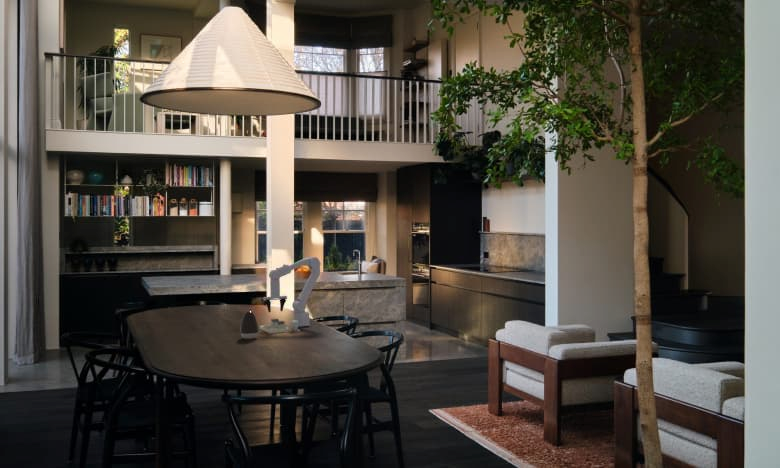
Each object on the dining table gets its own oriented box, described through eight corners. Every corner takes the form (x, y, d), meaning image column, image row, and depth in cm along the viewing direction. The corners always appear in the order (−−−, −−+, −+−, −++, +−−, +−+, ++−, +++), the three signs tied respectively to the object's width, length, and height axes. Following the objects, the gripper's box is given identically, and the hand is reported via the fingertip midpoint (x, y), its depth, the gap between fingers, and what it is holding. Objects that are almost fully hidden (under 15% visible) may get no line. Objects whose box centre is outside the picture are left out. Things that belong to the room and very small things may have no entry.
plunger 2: (282, 325, 421) (282, 320, 421) (284, 326, 418) (284, 321, 418) (277, 326, 420) (276, 321, 420) (278, 326, 417) (278, 321, 417)
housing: (278, 327, 434) (278, 320, 433) (289, 331, 417) (289, 324, 417) (259, 329, 428) (259, 322, 428) (269, 333, 411) (269, 326, 411)
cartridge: (293, 329, 421) (293, 320, 421) (299, 329, 420) (299, 320, 419) (289, 330, 417) (288, 321, 417) (295, 330, 415) (295, 321, 415)
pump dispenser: (261, 336, 400) (260, 310, 399) (255, 340, 389) (255, 312, 389) (243, 336, 401) (243, 310, 400) (237, 339, 390) (237, 312, 390)
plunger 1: (276, 323, 431) (276, 318, 431) (278, 324, 428) (278, 319, 428) (271, 323, 430) (271, 318, 429) (273, 324, 426) (272, 319, 426)
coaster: (297, 329, 423) (297, 329, 423) (301, 331, 417) (301, 330, 417) (287, 330, 420) (287, 329, 420) (291, 332, 414) (291, 331, 414)
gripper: (284, 288, 439) (284, 310, 439) (261, 289, 432) (262, 311, 432) (288, 289, 432) (288, 311, 433) (265, 290, 426) (265, 313, 426)
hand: (275, 311), depth 432 cm, fingers open, 7 cm apart
